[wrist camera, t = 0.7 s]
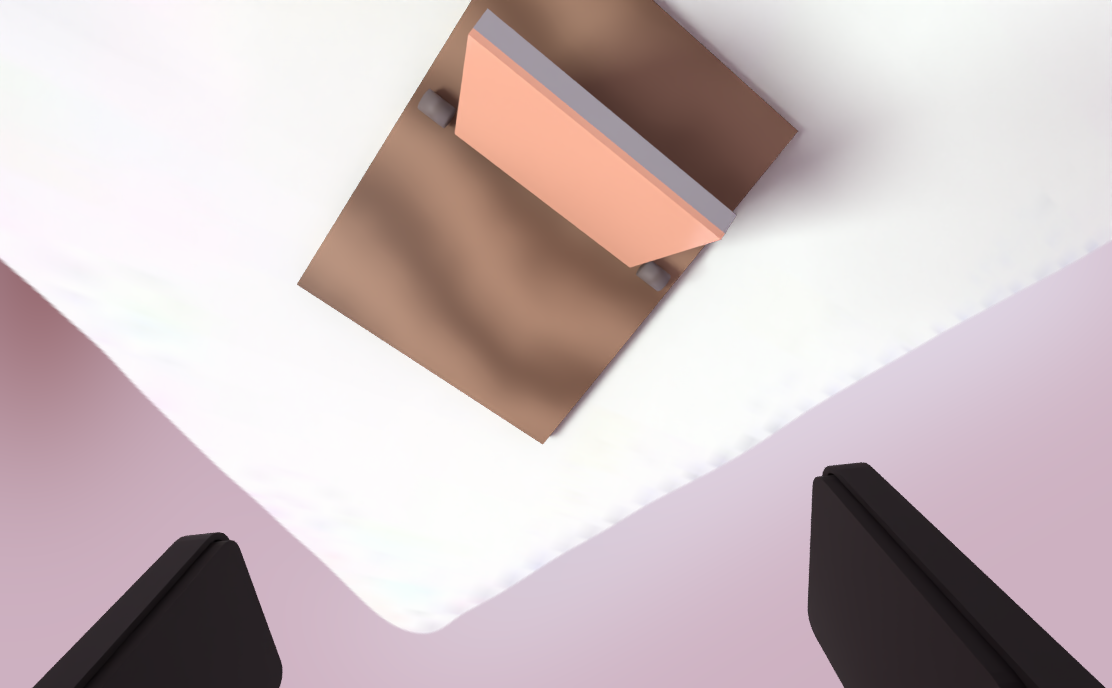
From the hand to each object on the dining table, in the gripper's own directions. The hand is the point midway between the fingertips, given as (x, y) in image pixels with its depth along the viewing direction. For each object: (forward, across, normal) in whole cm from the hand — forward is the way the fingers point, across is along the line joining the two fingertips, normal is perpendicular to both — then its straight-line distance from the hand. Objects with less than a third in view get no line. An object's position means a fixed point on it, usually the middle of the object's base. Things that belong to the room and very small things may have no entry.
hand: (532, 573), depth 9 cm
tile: (+20, -3, -6) cm, 21 cm away
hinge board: (+26, 0, -4) cm, 26 cm away
